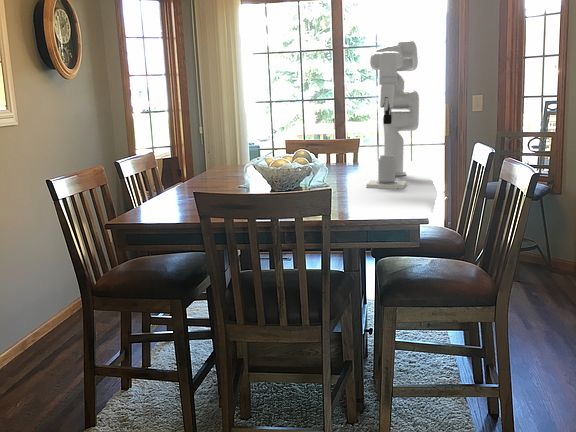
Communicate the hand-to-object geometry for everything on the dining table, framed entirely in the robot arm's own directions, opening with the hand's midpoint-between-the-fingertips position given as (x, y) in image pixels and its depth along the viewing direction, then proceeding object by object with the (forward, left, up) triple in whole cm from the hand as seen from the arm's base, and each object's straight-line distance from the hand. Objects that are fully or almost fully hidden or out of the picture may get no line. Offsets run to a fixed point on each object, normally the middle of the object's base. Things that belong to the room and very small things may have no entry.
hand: (387, 123), depth 269 cm
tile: (+2, 0, -27) cm, 27 cm away
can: (+2, 0, -26) cm, 26 cm away
